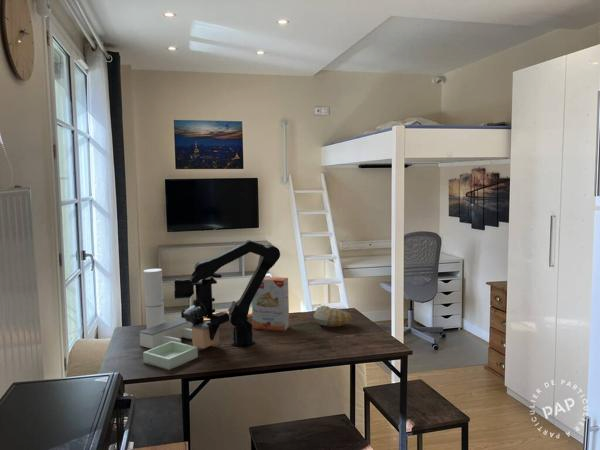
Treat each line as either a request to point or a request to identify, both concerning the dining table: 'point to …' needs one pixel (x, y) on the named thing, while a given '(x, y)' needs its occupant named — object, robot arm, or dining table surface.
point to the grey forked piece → (166, 333)
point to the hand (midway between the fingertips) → (205, 338)
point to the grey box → (203, 335)
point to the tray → (170, 355)
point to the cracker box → (271, 305)
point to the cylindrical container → (154, 297)
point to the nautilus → (331, 316)
